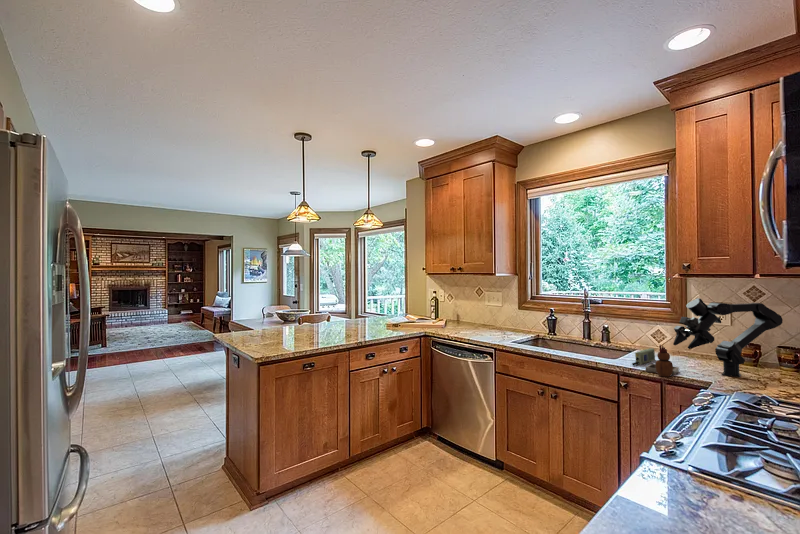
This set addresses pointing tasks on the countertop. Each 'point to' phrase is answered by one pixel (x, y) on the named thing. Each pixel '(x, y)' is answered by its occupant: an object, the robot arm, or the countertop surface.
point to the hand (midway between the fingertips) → (681, 346)
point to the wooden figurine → (664, 363)
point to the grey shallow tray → (652, 369)
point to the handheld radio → (644, 356)
